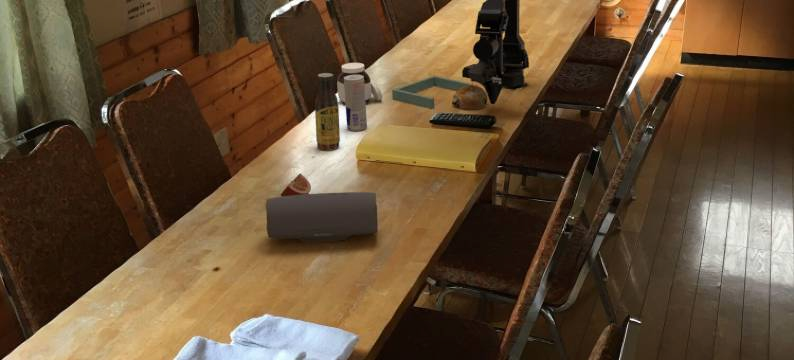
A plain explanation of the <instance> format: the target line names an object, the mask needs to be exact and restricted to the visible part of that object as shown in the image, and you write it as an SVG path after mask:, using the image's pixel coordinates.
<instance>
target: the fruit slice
mask: <svg viewBox="0 0 794 360" xmlns="http://www.w3.org/2000/svg"><path fill="white" fill-rule="evenodd" d="M311 189H312V186H311V183H310V181H309V180H308V179H307V178H306V177H305V176H304V175H303V174H302V173H299V174H298V175H297V176H296V177H295V178H294V179H293V180H291V181H290V183H288V184H287V186H286V187H284V189H283V191H282V192H281V194H280V197H282V196H293V195H304V194H310V192H311Z"/></svg>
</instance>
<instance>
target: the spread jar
mask: <svg viewBox="0 0 794 360" xmlns="http://www.w3.org/2000/svg"><path fill="white" fill-rule="evenodd" d="M349 75H362V76H364V84H365V101H366V104H367V103H368V102H369V101H371V98H372V96H373V98H374V99H375V100H376V101H377V102H379V101H381V100H382V99H383V93H382V91H381V88H380V87H379V86H378V83H377V82H376V81H375V80H374V79H373V78H371V77H370V76H369V74H368V73H367V71H365V64H364V63H361V62H350V63H349V62H348V63H343V64H342V65H341V73H340V74H339V75H338V76H337V80H336V81H337V83H336V84H337V85H336V86H337V94H338V95H337V97H338V99H339V101H341V103H342V104H343V105H345V106H346V104H345V90H344V77H346V76H349Z"/></svg>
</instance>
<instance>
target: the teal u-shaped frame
mask: <svg viewBox="0 0 794 360" xmlns="http://www.w3.org/2000/svg"><path fill="white" fill-rule="evenodd" d="M467 85H474V84H473V83H469V82H465V81H461V80H457V79H453V78H452V79H451V78H448V77H442V76H438V75H432V76H429V77H426V78H425V77H424V78H423V79H419V80H416V81H413V82H410V83H407V84H405V85H402V86H399V87H397V88H393V89H392V90H391V92H392V93H391V94H392V95H391V96H392V100H394V101H397V102H403V103H406V102H407V104H410V103H412V104H411V105H414V104H416V105H415V106H418V105H419V106H418V107H422V106H423V108H426V107H428V108H427V109H430V108H431V110H432V108H433V109H435V98H434V97H430V96H426V95H422V94H419V92H422V91H425V90H427V89H430V88H433V87H437V88H442V89H445V90H449V91H454V92H457V91H458V90H459V89H460V88H462V87H464V86H467ZM424 89H425V90H424ZM421 90H422V91H421ZM418 91H419V92H418ZM415 92H416V93H415Z"/></svg>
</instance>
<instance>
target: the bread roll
mask: <svg viewBox="0 0 794 360" xmlns="http://www.w3.org/2000/svg"><path fill="white" fill-rule="evenodd" d="M452 96H453V97H452V101H451V104H452V106H454V107H455V108H457V109H460V110H466V111H471V110H473V111H475V110H482V109H485V108H487V107H488V104H487V103H488V100H489V98H488V95H487V92H486V90H484V89H483V88H482V87H481V86H478V85H476V84H475V85H474V84H473V85H467V86H464V87H462V88H460V89H459V90H458V91H455V93H454V94H453V95H452Z"/></svg>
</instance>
